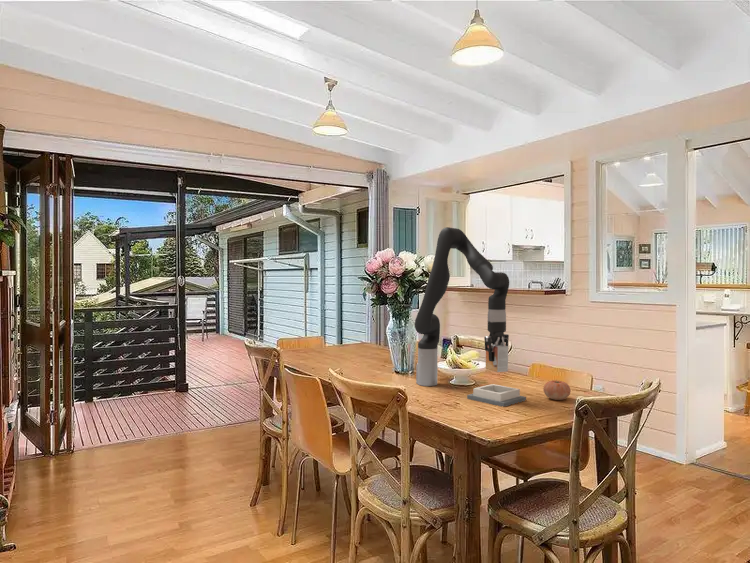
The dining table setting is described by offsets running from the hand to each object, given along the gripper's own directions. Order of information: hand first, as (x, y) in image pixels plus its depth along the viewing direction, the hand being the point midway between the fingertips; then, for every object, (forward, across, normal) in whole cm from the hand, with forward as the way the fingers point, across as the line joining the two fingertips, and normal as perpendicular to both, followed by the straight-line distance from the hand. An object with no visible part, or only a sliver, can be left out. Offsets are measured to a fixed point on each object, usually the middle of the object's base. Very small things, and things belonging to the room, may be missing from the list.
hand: (496, 360), depth 217 cm
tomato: (+17, -20, +16) cm, 31 cm away
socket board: (+16, 0, 0) cm, 16 cm away
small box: (+4, 0, 0) cm, 4 cm away
